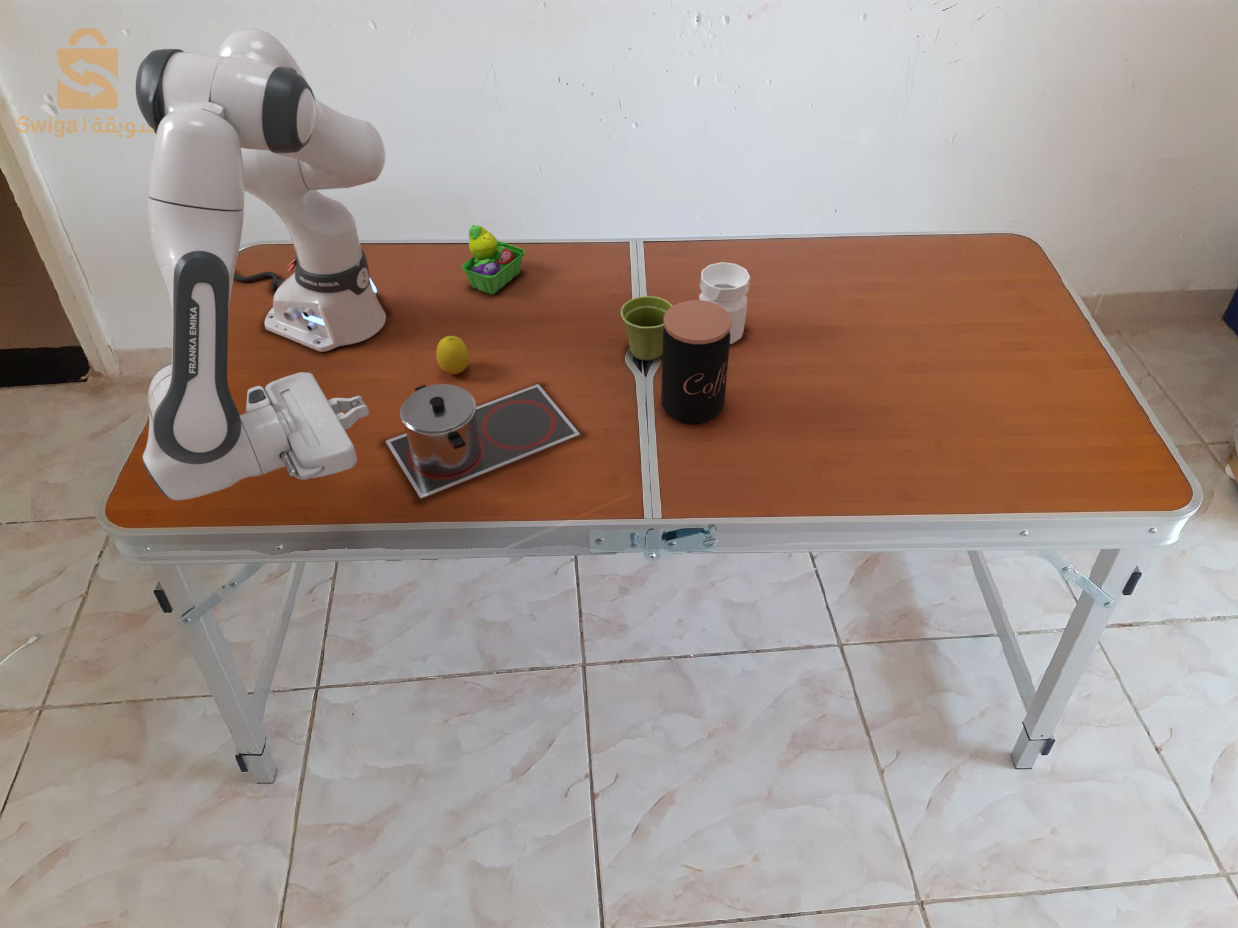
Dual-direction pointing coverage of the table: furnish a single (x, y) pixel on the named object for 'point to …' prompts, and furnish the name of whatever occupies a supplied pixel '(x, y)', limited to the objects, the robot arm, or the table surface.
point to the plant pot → (645, 325)
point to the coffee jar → (695, 361)
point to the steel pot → (441, 429)
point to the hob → (497, 437)
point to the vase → (727, 292)
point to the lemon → (452, 355)
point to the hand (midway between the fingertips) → (365, 404)
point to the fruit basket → (491, 261)
